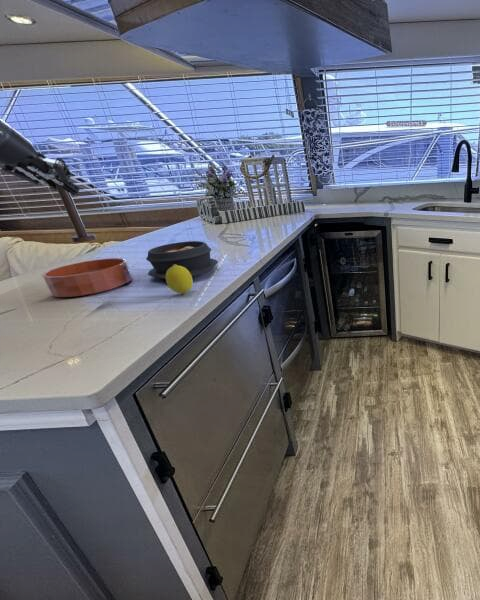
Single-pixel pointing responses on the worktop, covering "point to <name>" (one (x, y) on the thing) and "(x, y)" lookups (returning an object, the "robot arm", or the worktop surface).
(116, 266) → the bowl
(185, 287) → the lemon
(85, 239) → the muddler
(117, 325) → the worktop surface
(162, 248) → the casserole
